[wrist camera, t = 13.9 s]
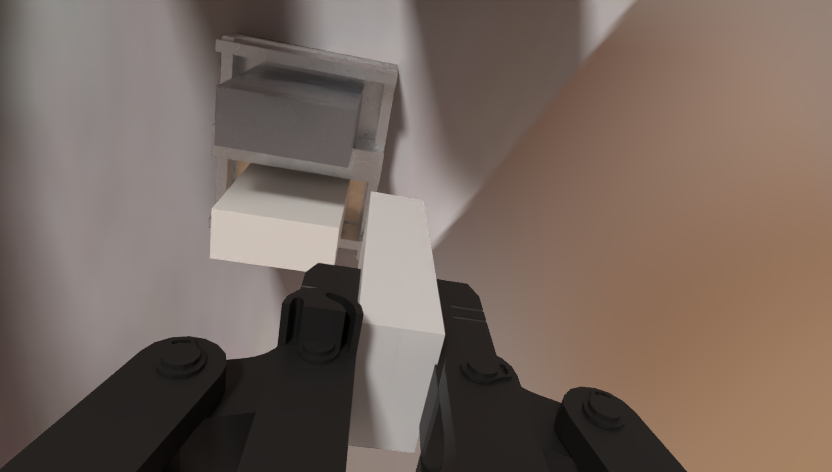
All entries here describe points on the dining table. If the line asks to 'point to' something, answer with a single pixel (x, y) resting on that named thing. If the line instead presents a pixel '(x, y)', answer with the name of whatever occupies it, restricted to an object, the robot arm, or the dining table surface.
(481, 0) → the dining table surface
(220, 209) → the panel
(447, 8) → the dining table surface
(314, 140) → the frame
